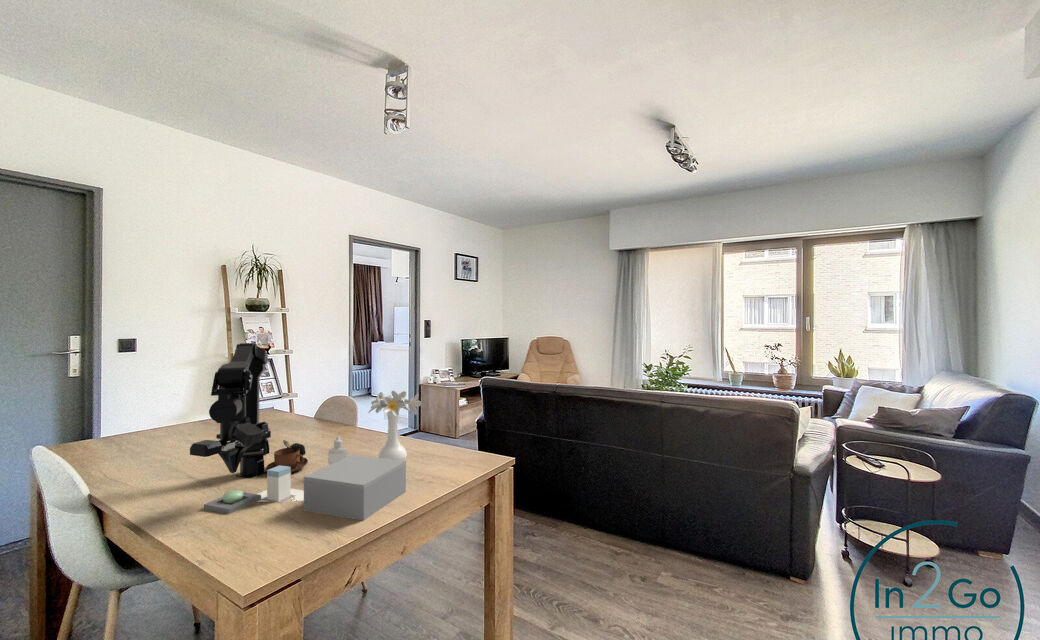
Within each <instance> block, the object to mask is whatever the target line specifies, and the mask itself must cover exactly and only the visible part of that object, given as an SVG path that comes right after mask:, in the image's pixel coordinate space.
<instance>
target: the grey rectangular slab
mask: <svg viewBox="0 0 1040 640" xmlns="http://www.w3.org/2000/svg"><path fill="white" fill-rule="evenodd" d="M303 491H304V501H303V511H305V512H311V513H315V514H316V513H317V514H324V515H330V516H333V517H340V518H348V519H353V520H360V521H365V520H367V519H368V518H370V517H371V516H373V515H374V514H376V513H377V512H379V511H380V510H382V509H383V508H385V507H386V506H387V505H389V504H390V503H392V502H393V501H395V500H396V499H398V498H399V497H401V496H402V495H404V494H405V493H406V492H407V462H406V460H404V461H401V460H392V459H384V458H378V457H374V456H373V457H372V456H366V455H365V456H364V455H357V454H356V455H355V454H351V455H348V457H346V458H344V459H342V460H340V461H337V462H335V463H333V464H331V465H327V466H324V467H322V468H320V469H318V470H315V471H313V472H311V473H309V474H306V475H304V476H303Z"/></svg>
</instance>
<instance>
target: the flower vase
mask: <svg viewBox="0 0 1040 640" xmlns="http://www.w3.org/2000/svg"><path fill="white" fill-rule="evenodd" d="M406 396H407V392H406V391H405V390H404V391H401V392H396V391H395V390H391V393H390V394H388V395H387V396H385V394H384V392H383V391H379V393H377V396H376V398H375V399H374V400H372V401H371V403H370V404H371V406H370V409H369V411H368V412H367V414H369V413H371V412H372V411H375V413H376V414H378V413H379V412H380V411H382V410H383V413H385V414H386V415H387V421H388V422H387V425H388V426H387V439H386V440H385V441H386V442H385V444H384V446H383V447H382V448H381V449H380V450H379V452H378V456H377V458H384V459H392V460H401V461H406V458H407V456H408V454H407V448H405V447H404V446H403V445H402V443H401V442H400V439H399V434H398V433H399V432H398V417H399V415H400V409H403V410H406V411H408V412H409V413H413V414H414V415H415V416H417V415H418V408H419V407H421V406H422V404H423V403H422V400H421V401H420V400H418V398H419V396H420V395H419V393H416V394H415V395H414V397H410V399H408V398H406Z"/></svg>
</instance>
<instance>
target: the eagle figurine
mask: <svg viewBox="0 0 1040 640" xmlns="http://www.w3.org/2000/svg"><path fill="white" fill-rule="evenodd" d="M282 442H283V445H284V446H285V448H289V447H290V448H292V449H293V451H294V453H295V452H296V450H297V448H299V449H300V455H302V456H303V457H304V458H306V459H307V457H305V456H306V448H305V445H304V444H301V443H298V442H295V443H292V444H291V443H290V442H289V441H287V440H285V439H283V440H282ZM300 458H301V457H300ZM307 460H308V459H307Z"/></svg>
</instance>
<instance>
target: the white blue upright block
mask: <svg viewBox="0 0 1040 640" xmlns="http://www.w3.org/2000/svg"><path fill="white" fill-rule="evenodd" d="M266 470H267V469H266ZM266 475H267V476H266V486H267V487H266V490H267V499H268V500H274V501H280V500H282V499H284V498H286V497H289V496H291V489H292V487H291V486H292V485H291V484H292V483H291V481H292V480H291V475H292V472H291V467H288V466H281V465H279V466H277V467H274V468H271V469H269V470H267V472H266Z"/></svg>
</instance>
